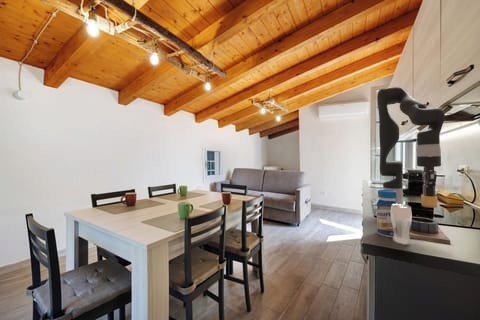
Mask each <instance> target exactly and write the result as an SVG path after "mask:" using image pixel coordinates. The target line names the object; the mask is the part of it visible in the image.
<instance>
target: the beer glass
mask: <svg viewBox="0 0 480 320" xmlns="http://www.w3.org/2000/svg"><path fill="white" fill-rule="evenodd" d="M412 214H413V213H412V206H410V205H407V204H403V205H401V204H392V205H391V208H390V218H391V223H392V227H393V237H391V238H392V239H391V240H392V242H393V243H395V244H397V245H403V246H410V245H412V241H411V238H410V228H411V223H412V217H413V215H412Z"/></svg>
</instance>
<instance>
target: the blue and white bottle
mask: <svg viewBox="0 0 480 320" xmlns="http://www.w3.org/2000/svg"><path fill="white" fill-rule="evenodd" d="M377 197H378V198H379V199H378V200H377V202H376V209H375V210H376V211H375V212H376V227H377V228H376V231H377V234H378V235H381V236H383V237H388V238H393V227H392V223H391V218H390V208H391V205H392V204H398V203H397V202H396V201H395V199H396V191H393V190H383V189H378V190H377Z"/></svg>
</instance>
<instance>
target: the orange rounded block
mask: <svg viewBox="0 0 480 320" xmlns="http://www.w3.org/2000/svg"><path fill="white" fill-rule="evenodd" d="M420 198H421V200H420V202H421V207H425V208H437V209H438V207H439V206H438V204H439V203H438V195H436V186H435V187H434V196H427V195H426V185H424V184H422V194H420Z"/></svg>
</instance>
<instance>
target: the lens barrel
mask: <svg viewBox="0 0 480 320" xmlns="http://www.w3.org/2000/svg"><path fill="white" fill-rule="evenodd" d="M438 227H439V222H438V221H437V220H435V219H432V218H427V217H423V216H422V217H421V216H412V223H411V228H410V230H412V231H415V232H419V233H426V234H437V233H438Z"/></svg>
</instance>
